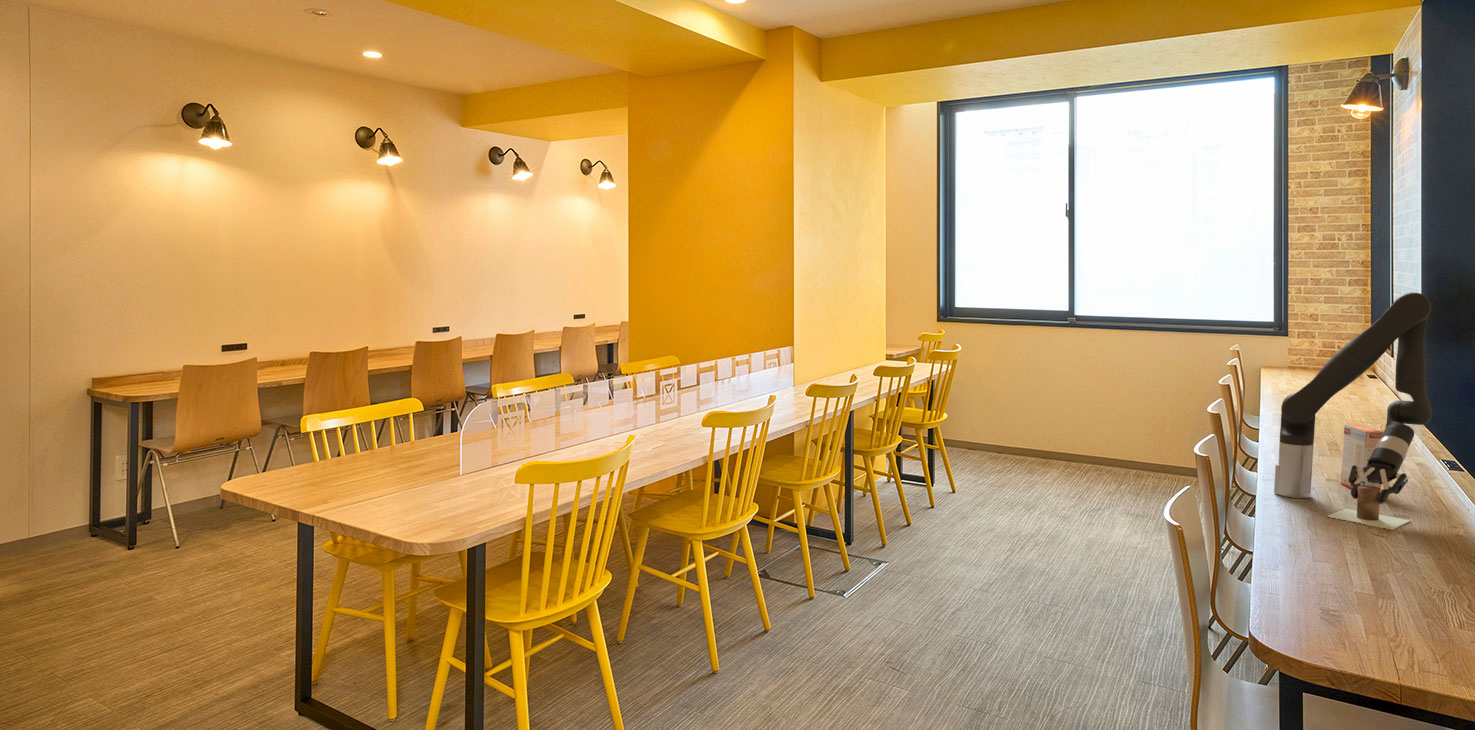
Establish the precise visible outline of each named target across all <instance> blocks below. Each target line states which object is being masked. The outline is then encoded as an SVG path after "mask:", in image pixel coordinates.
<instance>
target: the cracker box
mask: <svg viewBox="0 0 1475 730" xmlns="http://www.w3.org/2000/svg"><path fill="white" fill-rule="evenodd" d="M1383 433H1384V431H1383V430H1380V429H1377V428H1373V427H1369V426H1367V425H1362V424H1344V430H1343V445H1342V457H1341V471H1340V472H1341V473H1340V485H1342V486H1344V487H1346V486H1347V488H1349V489H1351V490H1352V488H1353V486H1351V484H1350V482H1349V480H1348V479H1349V476H1350V472H1351V469H1352V466H1354V465H1355V466H1357V467H1359V468H1363V467H1365V466H1366V465H1367V463H1368V460H1369V458H1370V456H1371V454H1372V452H1373V450H1374V448H1375V446H1376V444H1377V443H1378V441H1379V440H1380V438H1381V437H1382V435H1383ZM1363 474H1364V472H1362V473H1361V474H1360V475H1358V478H1357V480H1358V479H1359V478H1360V476H1361V475H1363ZM1366 480H1367V478H1366ZM1365 486H1374V487H1378V488H1380V490H1382V489H1381V487H1382V484H1378V483H1370V484H1368V485H1365Z"/></svg>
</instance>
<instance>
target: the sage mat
mask: <svg viewBox="0 0 1475 730" xmlns="http://www.w3.org/2000/svg"><path fill="white" fill-rule="evenodd" d="M1327 517H1330V518H1329V519H1332V518H1336V519H1335V520H1337V519H1341V520H1340V521H1342V520H1346V521H1345V522H1347V521H1353V522H1356V523H1355V524H1358V523H1362V524H1361V525H1363V524H1365V526H1369V527H1373V526H1374V528H1378V527H1379V528H1378V529H1383V528H1386V529H1385V530H1389V529H1390V531H1394V530H1396V529H1398V528H1401V527H1402V526H1404V525H1407V524H1409V523H1410V522H1411V520H1410V519H1405V518H1399V517H1394V516H1388V515H1383V514H1379V520H1365V519H1360V518H1358V517H1357V509H1350V508H1343V509H1342V510H1339V511H1336V512H1334V513H1331V514H1328V515H1327V516H1326V518H1327Z"/></svg>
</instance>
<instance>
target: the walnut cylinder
mask: <svg viewBox="0 0 1475 730" xmlns="http://www.w3.org/2000/svg"><path fill="white" fill-rule="evenodd" d="M1380 492H1381V489H1380V488H1378V487H1374V486H1358V495H1357V499H1356V500H1357V501H1356V511H1357V517H1358V518H1360V519H1365V520H1379V515H1380V504H1379V503H1378V501H1377V499H1378V496H1379V494H1380Z"/></svg>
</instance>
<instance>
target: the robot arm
mask: <svg viewBox="0 0 1475 730" xmlns="http://www.w3.org/2000/svg"><path fill="white" fill-rule="evenodd" d="M1431 312H1432V302H1431V301H1430V299H1429V298H1428V296H1426V295H1424V294H1422V293H1419V292H1405V293H1403V294H1401V295H1400V296H1398V297H1397V298H1396V299H1394V301H1393V303H1392V304H1391V305H1390V307H1388V309H1387V310H1385V312H1383V314H1382V315H1381V316H1380V317H1379V318H1378V319H1377V320H1376V321H1375V322H1374V323H1373V324H1371V325H1370V326H1369V327H1367V328H1366V329H1365V330H1363V331H1361V333H1359V334H1358V335H1356V336H1355V337H1354V338H1352V339H1351V340H1350V341H1348V342H1347V343H1346V344H1345V345H1343V346H1342V348H1340V349H1339V350H1338V351H1337V352H1336V353H1334V355H1333V356H1332V357H1331V358H1330V359H1328V361H1327V362H1326V363H1324V365H1323V367H1322V368H1320V370H1319V371H1318V373H1316V375H1315V377H1314V378H1313V379H1312V380H1311V381H1310V382H1309V383H1307V384H1305V386H1303V387H1302V388H1301V389H1299V390H1298V391H1297V392H1293V393H1291V394H1289V395H1287V396H1286V397H1285V398H1284V399H1283V401H1282V403H1281V408H1280V410H1281V412H1280V413H1281V414H1280V416H1281V417H1280V430H1279V444H1278V445H1279V447H1278V464H1275V470H1274V486H1273V487H1274V489H1273V494H1277V495H1280V496H1282V497H1286V498H1287V497H1288V498H1293V499H1309V498H1310V497H1311V493H1312V476H1313V462H1314V461H1313V460H1314V445H1315V443H1314V441H1315V432H1316V430H1315V428H1316V427H1315V426H1316V414H1317V413H1318V412H1319V411H1320V410H1321V409H1322V408H1323V406H1324V405H1325V404H1326V403H1327V402H1328V401H1329V400H1330V399H1332V397H1333V396H1335V395H1336V394H1338V393H1339V392H1340V391H1342V390H1343V389H1344V388H1346V387H1347V386H1348V385H1350V384H1351V383H1353V382H1354V381H1356V379H1358V378H1359V377H1361V375H1363V374H1364V373H1365V372H1366V371H1367V370H1368V369H1370V368H1371V367H1372V366H1373V365H1374V364H1375V363H1376V362H1377V361H1378V360H1380V358H1381V357H1382V356H1383V355H1384V354H1385V353H1386V352H1387V350H1388V349H1390V347H1391V346H1392V345H1393V343H1394V342H1395V341H1396V340H1398V341H1397V353H1396V360H1395V382H1394V383H1395V391H1397V392H1399V393H1403V394H1407V395H1409V396H1410V397H1411V399H1412V400H1394V401H1393V402H1391V403H1390V404H1389V405H1388V406H1387V410H1386V412H1387V413H1386V422H1385V429H1384V431H1383V432H1384V433H1383V435H1382V437H1381V438H1380V440H1379V441H1378V443H1377V444H1376V446H1375V448H1374V450H1373V452H1372V454H1371V456H1370V458H1369V460H1368V463H1367V465H1366V466H1365V467H1363V468H1359V467H1357V466H1355V465H1354V466H1352V469H1351V472H1350V476H1349V479H1348V480H1349V482H1350V484H1351V486H1353V488H1352V489H1351V491H1350V495H1351V497H1352V499H1354V500H1357V495H1358V486H1365V485H1368V484H1370V483H1378V484H1381V486H1382V487H1383V489H1380V494H1379V496H1378V499H1377V501H1378V503H1379V505H1382V504H1383V503H1386V502H1387V500H1388V498H1389V497H1390V496H1389V495H1391V494H1394V495H1399V494H1400V492H1401V491H1402V489H1404V487H1405V485H1406V484H1407V483H1408V481H1409V478H1408V476H1407V474H1406V473H1399V470H1400V469H1401V466H1402V464H1403V462H1404V460H1405V459H1406V457H1407V454H1408V451H1409V447H1410V445H1411V444H1412V441H1413V439H1414V437H1415V430H1414V429H1413V427H1411V426H1409V425H1414V426H1415V425H1417V426H1423V425H1427V424H1429V422H1430V421H1431V419H1432V418H1433V409H1432V405H1431V403H1430V400H1429V396H1428V394H1427V389H1426V357H1425V356H1426V355H1425V335H1426V334H1425V333H1426V327H1427V322H1428V319H1429V316H1430V314H1431ZM1362 472H1364V474H1363V475H1361V476H1360V478H1359V479H1358V480H1357V478H1358V475H1360V474H1361V473H1362ZM1366 478H1367V480H1366ZM1395 479H1396V481H1395V482H1394V483H1393V484H1392V486H1391V483H1390V482H1392V481H1393V480H1395Z"/></svg>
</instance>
